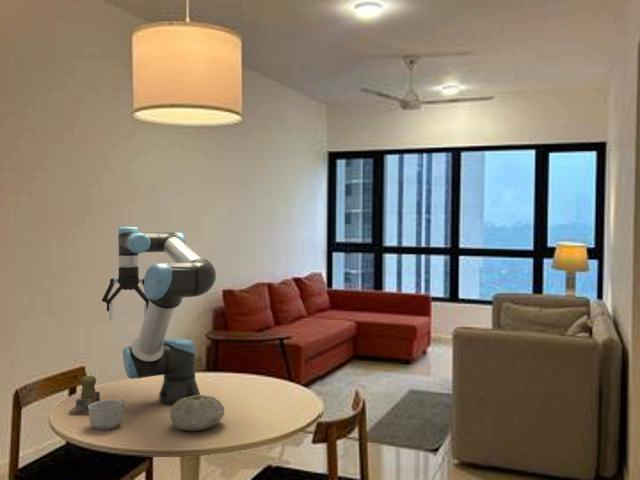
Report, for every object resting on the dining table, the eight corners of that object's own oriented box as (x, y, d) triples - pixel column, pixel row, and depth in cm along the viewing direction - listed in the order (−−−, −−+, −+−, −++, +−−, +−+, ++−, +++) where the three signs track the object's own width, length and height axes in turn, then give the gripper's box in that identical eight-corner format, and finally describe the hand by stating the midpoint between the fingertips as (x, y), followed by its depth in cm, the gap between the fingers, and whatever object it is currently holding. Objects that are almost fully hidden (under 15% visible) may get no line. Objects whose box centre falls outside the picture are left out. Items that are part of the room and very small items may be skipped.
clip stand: (106, 405, 229) (106, 391, 229) (97, 414, 219) (97, 400, 219) (79, 405, 229) (79, 391, 229) (68, 414, 219) (68, 399, 218)
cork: (100, 406, 224) (100, 376, 224) (84, 410, 220) (84, 379, 219) (92, 403, 228) (92, 373, 228) (76, 406, 224) (76, 376, 223)
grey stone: (170, 419, 215) (170, 390, 214) (222, 416, 219) (222, 388, 218) (169, 438, 197) (169, 406, 197) (226, 434, 201) (226, 403, 201)
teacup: (103, 435, 199) (102, 410, 199) (81, 428, 205) (81, 404, 204) (137, 423, 211) (137, 399, 211) (115, 417, 217) (115, 394, 216)
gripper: (162, 265, 249) (162, 318, 250) (99, 265, 249) (100, 318, 249) (158, 267, 242) (158, 321, 243) (93, 266, 241) (93, 321, 242)
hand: (128, 319), depth 246 cm, fingers open, 13 cm apart
